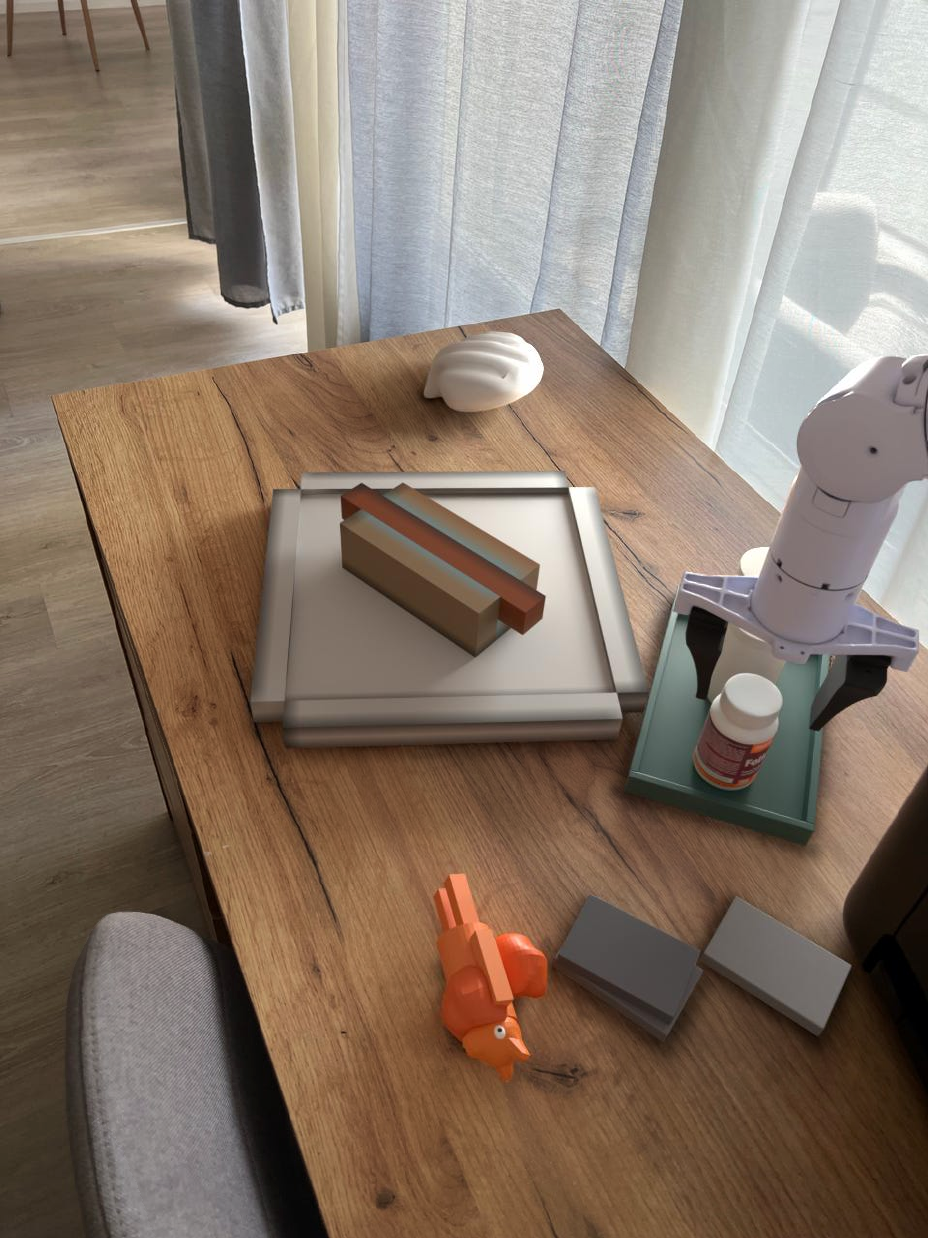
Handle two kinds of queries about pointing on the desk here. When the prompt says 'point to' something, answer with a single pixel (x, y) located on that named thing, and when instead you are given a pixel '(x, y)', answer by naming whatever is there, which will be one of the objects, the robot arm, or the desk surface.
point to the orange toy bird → (484, 979)
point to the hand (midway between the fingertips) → (758, 704)
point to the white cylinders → (745, 642)
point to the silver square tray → (442, 612)
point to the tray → (676, 723)
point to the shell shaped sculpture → (484, 372)
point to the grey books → (666, 972)
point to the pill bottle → (738, 732)
